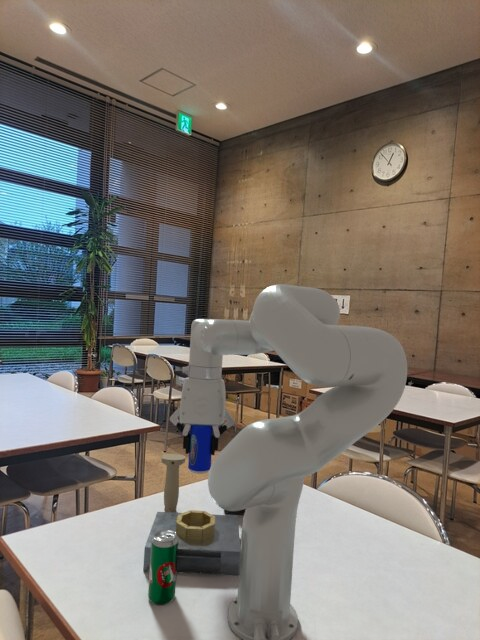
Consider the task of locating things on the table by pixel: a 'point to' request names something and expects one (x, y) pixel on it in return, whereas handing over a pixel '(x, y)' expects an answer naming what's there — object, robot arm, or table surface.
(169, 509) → the handle
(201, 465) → the beverage can
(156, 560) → the soda can
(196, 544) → the grey block platform
